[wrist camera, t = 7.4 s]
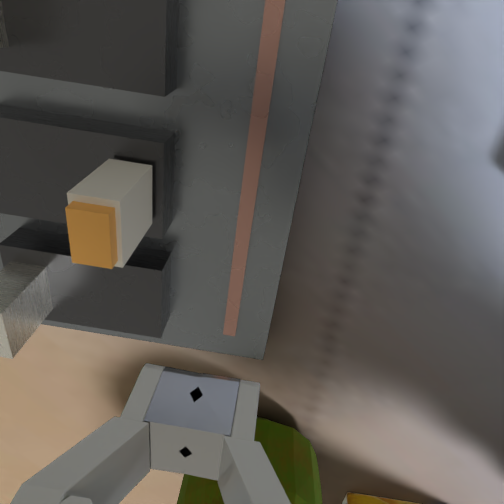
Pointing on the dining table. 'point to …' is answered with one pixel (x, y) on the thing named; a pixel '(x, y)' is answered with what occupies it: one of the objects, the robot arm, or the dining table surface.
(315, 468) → the apple
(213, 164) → the panel
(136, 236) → the block
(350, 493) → the beverage box
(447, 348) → the dining table surface
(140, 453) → the robot arm
